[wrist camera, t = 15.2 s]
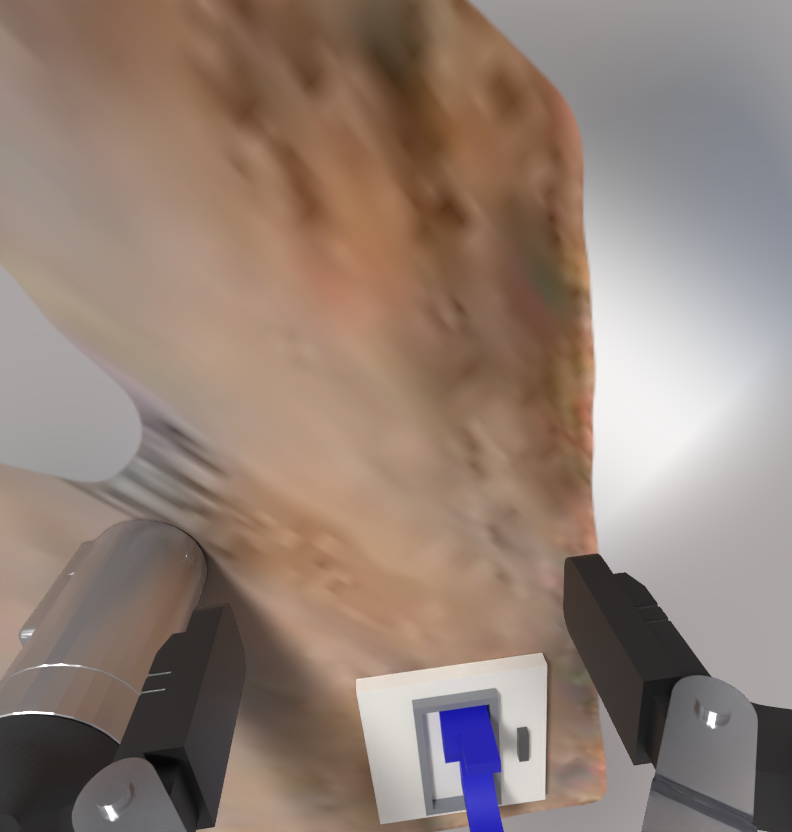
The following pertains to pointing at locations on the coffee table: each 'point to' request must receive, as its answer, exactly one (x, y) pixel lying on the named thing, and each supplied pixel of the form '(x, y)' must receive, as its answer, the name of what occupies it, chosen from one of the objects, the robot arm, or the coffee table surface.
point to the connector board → (422, 741)
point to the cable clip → (474, 763)
